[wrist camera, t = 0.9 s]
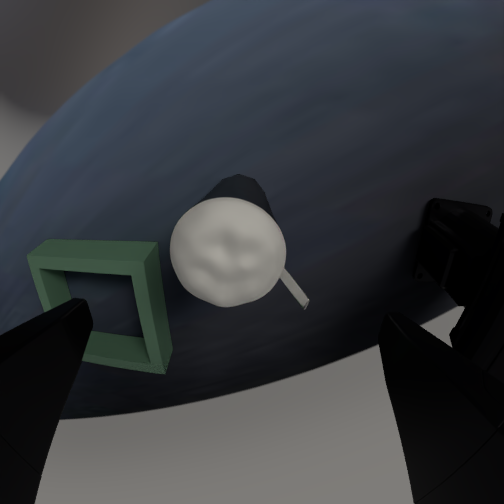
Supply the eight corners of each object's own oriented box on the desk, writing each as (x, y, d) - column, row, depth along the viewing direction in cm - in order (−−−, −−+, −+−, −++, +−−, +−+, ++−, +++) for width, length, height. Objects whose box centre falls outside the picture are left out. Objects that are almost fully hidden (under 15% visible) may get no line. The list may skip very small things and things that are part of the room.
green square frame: (157, 241, 20) (143, 261, 18) (172, 349, 25) (165, 374, 22) (47, 239, 21) (26, 255, 18) (76, 335, 25) (62, 356, 22)
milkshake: (273, 244, 20) (283, 350, 11) (195, 220, 20) (147, 312, 11) (298, 181, 19) (334, 249, 10) (214, 154, 18) (169, 197, 9)
